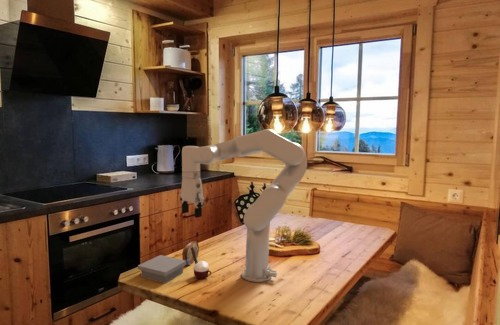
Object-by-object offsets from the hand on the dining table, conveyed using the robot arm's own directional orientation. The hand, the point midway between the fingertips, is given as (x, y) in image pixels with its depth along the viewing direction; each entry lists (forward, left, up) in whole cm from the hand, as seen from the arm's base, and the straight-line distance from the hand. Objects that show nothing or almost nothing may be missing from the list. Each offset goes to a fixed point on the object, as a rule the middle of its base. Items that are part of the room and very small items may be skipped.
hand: (191, 214), depth 155 cm
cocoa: (-8, +4, -25) cm, 26 cm away
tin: (+6, -8, -25) cm, 27 cm away
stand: (+7, +10, -25) cm, 27 cm away
